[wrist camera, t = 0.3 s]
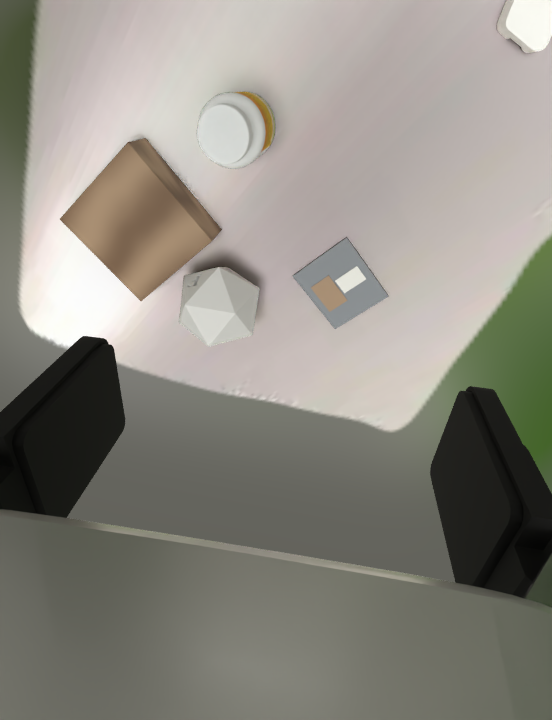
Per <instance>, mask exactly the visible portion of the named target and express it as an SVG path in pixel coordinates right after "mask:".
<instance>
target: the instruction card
mask: <svg viewBox="0 0 552 720" xmlns="http://www.w3.org/2000/svg"><path fill="white" fill-rule="evenodd" d="M293 277H294V278H295V280H296V281H297V282H298V283H299V285H300V286H301V287H302V288H303V290H304V291H305V292H306V293H307V295H308V296H309V297H310V298H311V300H312V301H313V302H314V303H315V305H316V306H317V307H318V308H319V310H320V311H321V312H322V313H323V315H324V316H325V317H326V318H327V320H328V321H329V322H330V323H331V325H332V326H333V327H334V328H335V329H336V328H338V327H339V326H341V325H343V324H344V323H346V322H348V321H349V320H351V319H353V318H354V317H356V316H357V315H359V314H361V313H362V312H364V311H366V310H367V309H369V308H370V307H372V306H374V305H375V304H377V303H379V302H380V301H382V300H384V299H385V298H387V297H388V295H387V293H386V292H385V290H384V289H383V288H382V286H381V285H380V283H379V282H378V280H377V279H376V278H375V276H374V275H373V273H372V272H371V271H370V269H369V268H368V266H367V265H366V264H365V262H364V261H363V259H362V258H361V257H360V255H359V254H358V252H357V251H356V250H355V248H354V247H353V245H352V244H351V242H350V241H349V240H348V238H347V237H346V238H345V239H343V240H342V241H340V242H339V243H338V244H336V245H335V246H333V247H332V248H331V249H329V250H328V251H326V252H325V253H324V254H322V255H321V256H319V257H318V258H317V259H315V260H314V261H312V262H311V263H310V264H308V265H307V266H305V267H304V268H303V269H301V270H300V271H299V272H297V273H296V274H294V275H293Z"/></svg>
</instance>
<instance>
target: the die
mask: <svg viewBox="0 0 552 720" xmlns="http://www.w3.org/2000/svg"><path fill="white" fill-rule="evenodd" d="M259 290H260V288H258V287H257V286H255V285H254V284H252V283H251V282H249V281H248V280H246V279H245V278H243V277H242V276H240V275H239V274H237V273H236V272H234V271H233V270H231V269H230V268H228V267H217V268H213V269H209V270H205V271H201V272H197V273H193V274H189V275H185V276H184V280H183V290H182V299H181V308H180V317H179V323H180V324H181V325H182V326H184V327H185V328H186V329H187V330H188V331H190V332H191V333H192V334H193V335H195V336H196V337H197V338H198V339H199V340H201V341H202V342H203V343H204V344H205V345H207V346H208V347H210V346H214V345H218V344H222V343H225V342H229V341H233V340H237V339H240V338H244V337H248V336H252V335H253V330H254V323H255V316H256V310H257V303H258V296H259Z"/></svg>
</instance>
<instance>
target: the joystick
mask: <svg viewBox="0 0 552 720" xmlns="http://www.w3.org/2000/svg"><path fill="white" fill-rule="evenodd" d="M497 31H498V32H499V33H500V34H501V35H502V36H503V37H504V38H506V39H509V38H511V39H512V40H513V41H514V42H516V43H517V44H518V45H519V46H520V47H522V49H521V50H523V51H524V52H525V53H532V52H538V51H541V50H543V49H544V48H545V47H546V46H547V45H548V43H549V40H550V38H551V35H552V0H507V1H506V3H505V5H504V7H503V10H502V12H501V15H500V17H499V20H498V23H497Z"/></svg>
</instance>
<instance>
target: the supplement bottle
mask: <svg viewBox="0 0 552 720" xmlns="http://www.w3.org/2000/svg"><path fill="white" fill-rule="evenodd" d="M274 135H275V118H274V115H273V112H272V110H271V108H270V106H269V105H268V103H267V102H266V101H265V100H264V99H263V98H262V97H260V96H259V95H256V94H254V93H251V92H227V93H222V94H219V95H217V96H215V97H213V98H212V99H211V100H209V101H208V103H207V104H206V105H205V106H204V108H203V110H202V112H201V114H200V117H199V122H198V127H197V138H198V142H199V145H200V147H201V149H202V151H203V152H204V154H205V155H206V156H207V157H208V158H209V159H210V160H212V161H213V162H215V163H216V164H218V165H220V166H222V167H225V168H230V169H238V168H242V167H245V166H247V165H249V164H251V163H252V162H253V161H255V160H256V159H257V158H258V157H260V156H261V155H262V154H263V153H264V152H265V151H266V150H267V149H268V148H269V147H270V145H271V143H272V141H273V138H274Z"/></svg>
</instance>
